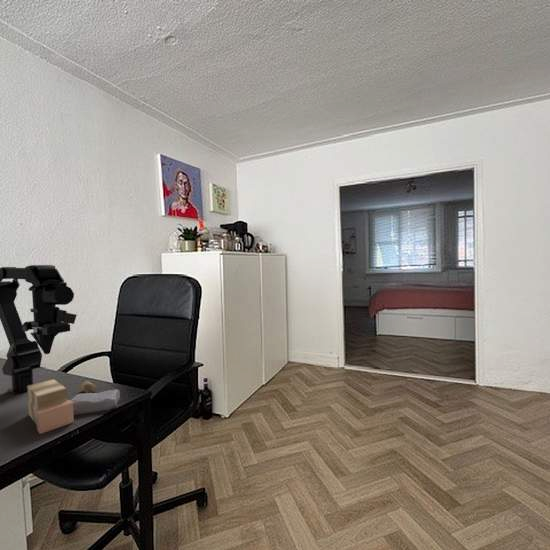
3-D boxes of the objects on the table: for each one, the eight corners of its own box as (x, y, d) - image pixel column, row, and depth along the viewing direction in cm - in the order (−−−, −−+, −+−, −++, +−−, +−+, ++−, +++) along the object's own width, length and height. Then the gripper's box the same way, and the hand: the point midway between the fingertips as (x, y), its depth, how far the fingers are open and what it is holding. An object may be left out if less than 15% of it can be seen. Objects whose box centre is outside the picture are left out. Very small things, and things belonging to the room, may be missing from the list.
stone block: (78, 409, 90) (65, 417, 80) (79, 392, 91) (66, 398, 81) (122, 404, 93) (115, 411, 84) (123, 387, 94) (115, 393, 85)
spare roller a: (78, 385, 98) (87, 378, 100) (83, 392, 99) (92, 385, 101) (83, 389, 95) (93, 382, 97) (88, 396, 96) (98, 389, 98)
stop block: (36, 429, 74) (35, 409, 74) (70, 418, 80) (69, 399, 80) (39, 433, 72) (38, 413, 72) (73, 422, 78) (72, 402, 78)
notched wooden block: (28, 414, 83) (27, 385, 83) (55, 406, 87) (53, 379, 87) (39, 428, 75) (37, 396, 75) (68, 419, 79) (66, 388, 79)
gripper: (86, 302, 98) (89, 350, 98) (58, 301, 108) (61, 345, 108) (46, 306, 89) (49, 360, 89) (20, 305, 98) (23, 353, 99)
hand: (47, 353), depth 96 cm, fingers closed
